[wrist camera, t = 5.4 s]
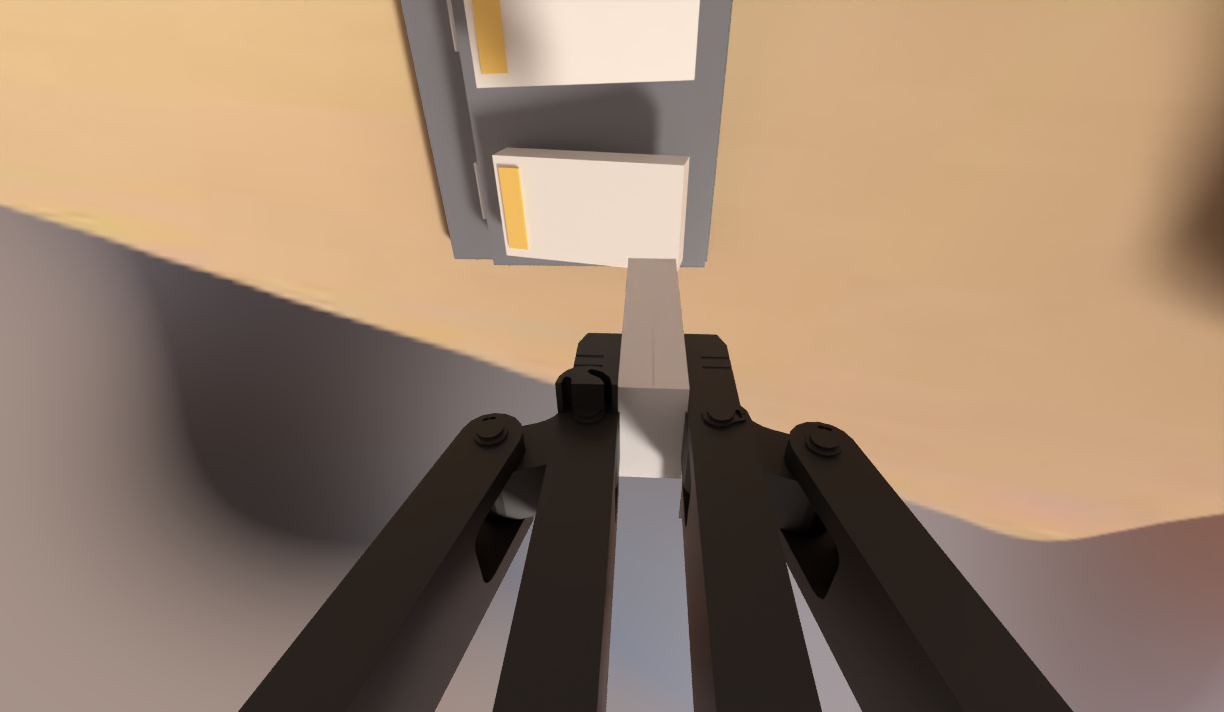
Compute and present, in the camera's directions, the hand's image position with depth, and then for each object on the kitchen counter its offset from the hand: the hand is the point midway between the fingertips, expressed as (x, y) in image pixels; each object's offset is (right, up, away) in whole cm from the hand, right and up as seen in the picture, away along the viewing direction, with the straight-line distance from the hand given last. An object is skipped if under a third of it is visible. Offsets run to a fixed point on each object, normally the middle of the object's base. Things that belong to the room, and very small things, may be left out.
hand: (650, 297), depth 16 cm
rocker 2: (-2, +5, +8) cm, 10 cm away
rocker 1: (-2, +12, +3) cm, 12 cm away
